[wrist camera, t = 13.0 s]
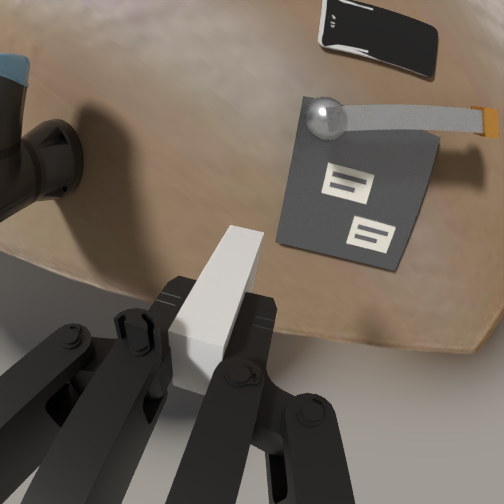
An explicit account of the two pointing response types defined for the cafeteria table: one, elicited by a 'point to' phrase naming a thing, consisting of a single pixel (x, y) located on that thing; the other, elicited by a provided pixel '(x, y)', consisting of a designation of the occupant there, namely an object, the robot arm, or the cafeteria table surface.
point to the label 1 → (347, 183)
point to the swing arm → (399, 119)
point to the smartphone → (378, 35)
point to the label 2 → (370, 234)
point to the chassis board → (343, 210)
